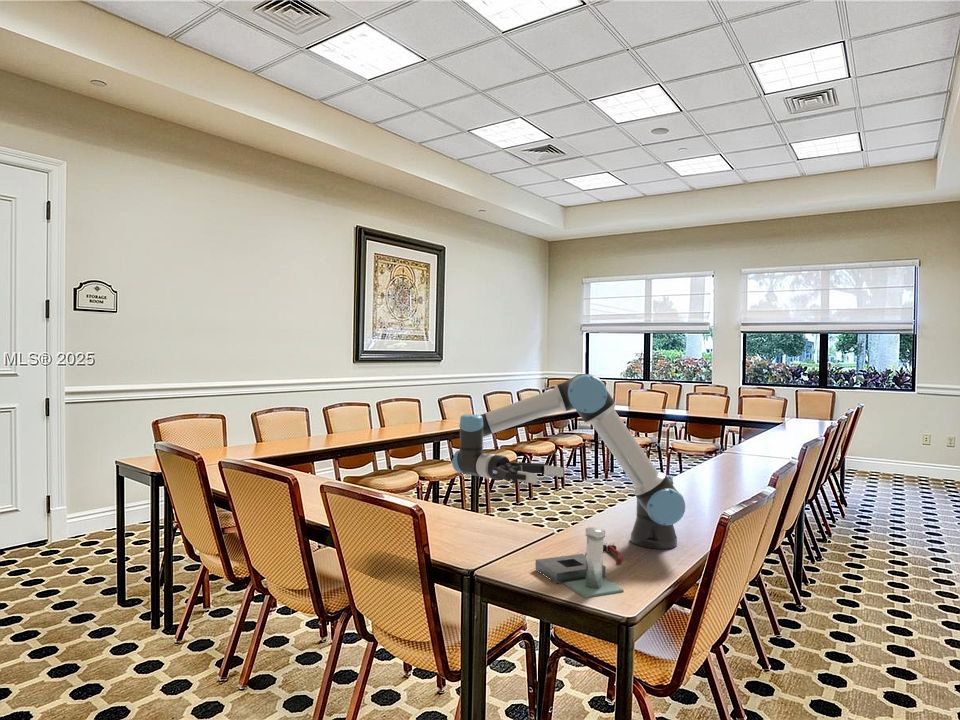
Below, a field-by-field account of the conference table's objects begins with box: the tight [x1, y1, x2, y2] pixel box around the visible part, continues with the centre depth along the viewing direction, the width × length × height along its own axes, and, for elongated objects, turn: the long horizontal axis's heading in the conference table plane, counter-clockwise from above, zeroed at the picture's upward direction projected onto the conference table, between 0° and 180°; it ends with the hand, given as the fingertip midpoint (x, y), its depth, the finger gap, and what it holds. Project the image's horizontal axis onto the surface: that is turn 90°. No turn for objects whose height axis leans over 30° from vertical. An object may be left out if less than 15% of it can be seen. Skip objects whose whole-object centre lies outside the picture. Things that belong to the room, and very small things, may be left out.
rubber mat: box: [564, 577, 624, 599], centre depth 166 cm, size 12×10×1 cm
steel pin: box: [584, 526, 606, 589], centre depth 166 cm, size 5×5×15 cm
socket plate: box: [534, 553, 607, 584], centre depth 177 cm, size 16×12×3 cm
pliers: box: [584, 540, 624, 566], centre depth 197 cm, size 12×20×3 cm, turn 162°
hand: (550, 475), depth 181 cm, fingers open, 13 cm apart
